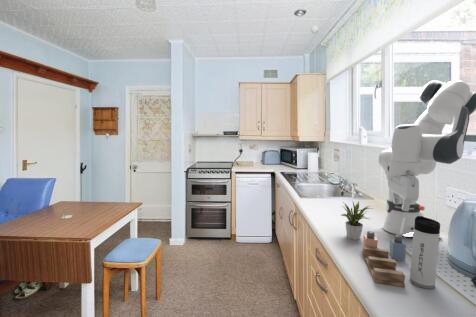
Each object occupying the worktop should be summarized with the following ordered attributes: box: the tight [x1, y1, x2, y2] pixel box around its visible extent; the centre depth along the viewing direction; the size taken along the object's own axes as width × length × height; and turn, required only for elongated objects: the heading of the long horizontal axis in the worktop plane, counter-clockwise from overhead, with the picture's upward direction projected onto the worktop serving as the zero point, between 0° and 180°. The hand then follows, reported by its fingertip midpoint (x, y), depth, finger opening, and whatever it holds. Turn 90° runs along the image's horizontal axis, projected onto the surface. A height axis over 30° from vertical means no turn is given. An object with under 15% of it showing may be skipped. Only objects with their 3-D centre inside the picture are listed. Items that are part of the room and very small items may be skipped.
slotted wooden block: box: [362, 245, 406, 288], centre depth 86 cm, size 8×19×4 cm, turn 164°
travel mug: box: [409, 216, 441, 290], centre depth 77 cm, size 6×7×20 cm
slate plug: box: [388, 234, 407, 262], centre depth 94 cm, size 4×4×8 cm
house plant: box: [340, 200, 374, 241], centre depth 110 cm, size 14×14×16 cm
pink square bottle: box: [362, 230, 379, 248], centre depth 98 cm, size 4×4×8 cm
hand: (400, 207), depth 93 cm, fingers open, 8 cm apart
